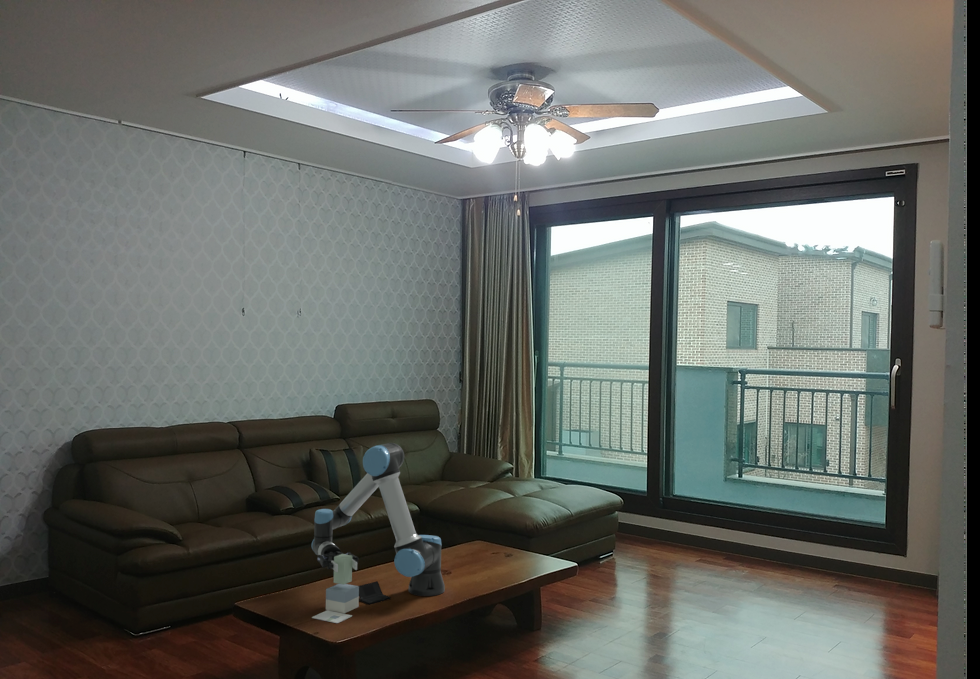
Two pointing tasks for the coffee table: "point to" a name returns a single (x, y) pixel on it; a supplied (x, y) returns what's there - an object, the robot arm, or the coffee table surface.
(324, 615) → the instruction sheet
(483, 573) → the coffee table surface
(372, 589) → the handheld gaming console
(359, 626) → the coffee table surface
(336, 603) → the tower base
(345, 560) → the top brick
